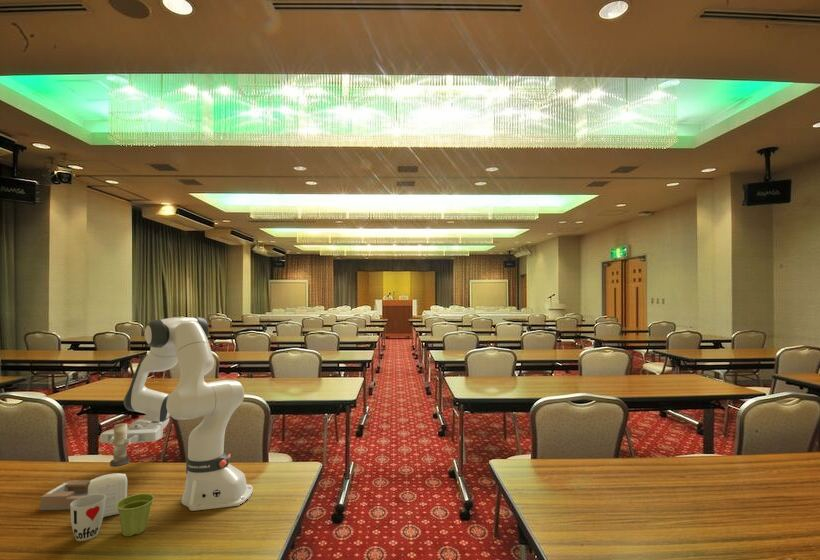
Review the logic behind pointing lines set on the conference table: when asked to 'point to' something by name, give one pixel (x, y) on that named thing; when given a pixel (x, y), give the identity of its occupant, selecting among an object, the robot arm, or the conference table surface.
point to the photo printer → (110, 490)
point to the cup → (87, 516)
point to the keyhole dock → (64, 495)
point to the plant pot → (134, 513)
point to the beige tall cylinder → (120, 446)
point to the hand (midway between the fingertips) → (119, 442)
